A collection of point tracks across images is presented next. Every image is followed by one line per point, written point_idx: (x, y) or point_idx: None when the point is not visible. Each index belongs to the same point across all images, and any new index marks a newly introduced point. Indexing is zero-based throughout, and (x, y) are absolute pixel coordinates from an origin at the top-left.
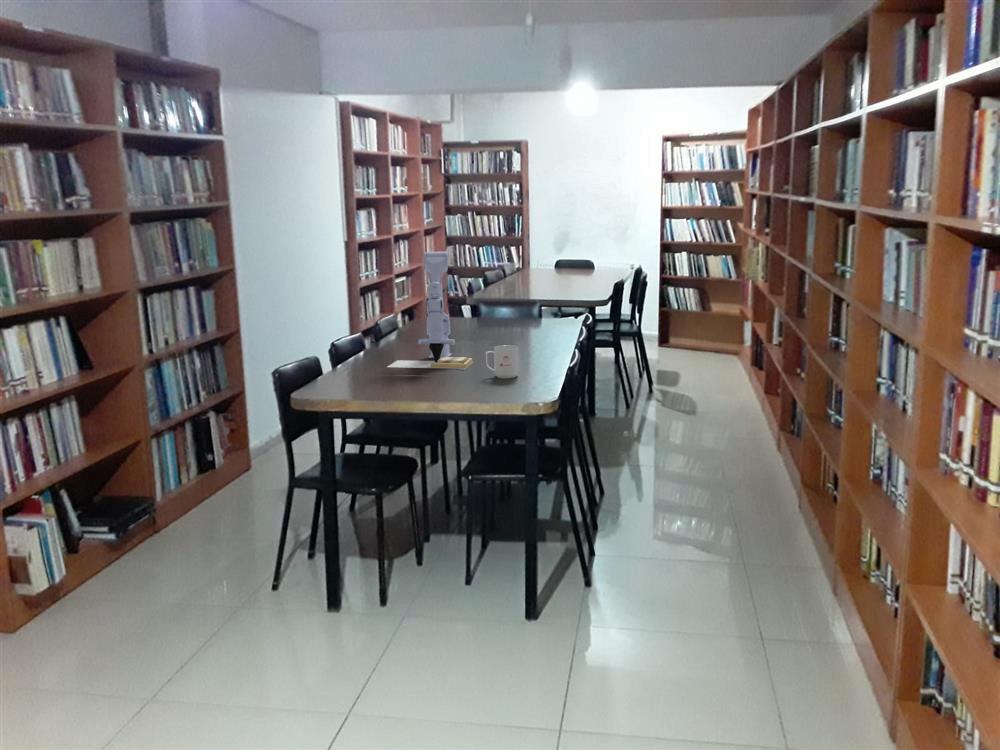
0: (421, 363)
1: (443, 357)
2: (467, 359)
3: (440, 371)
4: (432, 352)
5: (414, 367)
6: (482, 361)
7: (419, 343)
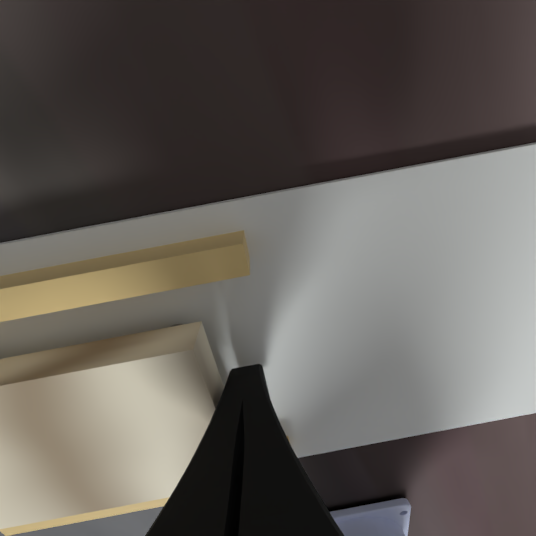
0: (407, 360)
1: None
2: None
3: (26, 91)
4: (297, 477)
5: (436, 168)
6: None
7: None
